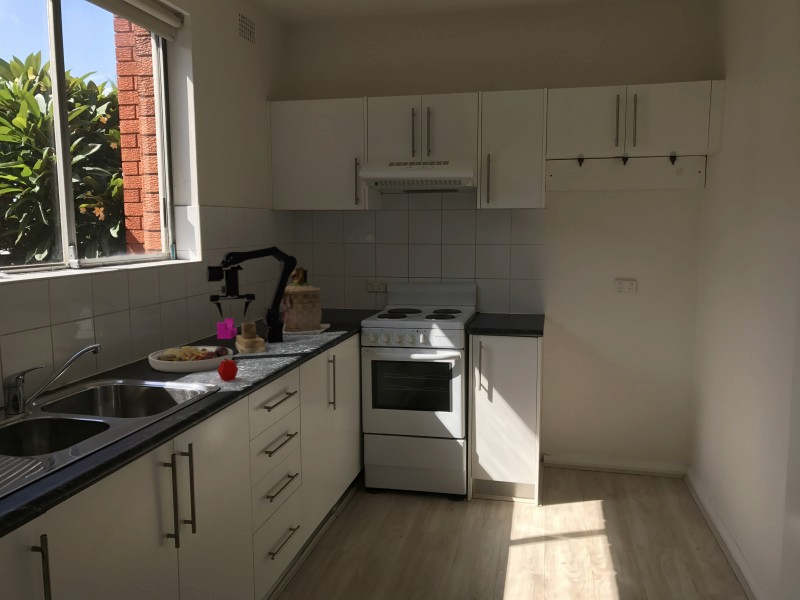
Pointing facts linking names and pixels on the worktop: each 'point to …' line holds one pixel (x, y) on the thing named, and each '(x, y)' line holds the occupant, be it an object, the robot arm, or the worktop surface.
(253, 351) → the beech slab
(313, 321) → the cookie jar
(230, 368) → the apple
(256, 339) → the oak slab
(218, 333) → the toy block
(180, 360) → the bowl
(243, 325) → the walnut block
